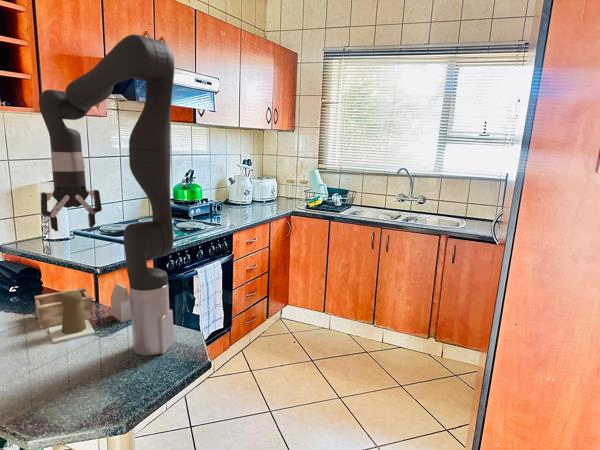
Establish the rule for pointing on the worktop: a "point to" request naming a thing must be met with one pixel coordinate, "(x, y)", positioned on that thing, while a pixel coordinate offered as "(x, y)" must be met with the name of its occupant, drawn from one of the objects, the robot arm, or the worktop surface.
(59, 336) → the cream mat
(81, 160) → the robot arm
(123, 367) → the worktop surface
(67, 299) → the cork
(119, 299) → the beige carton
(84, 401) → the worktop surface
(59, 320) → the open rectangular wooden frame
